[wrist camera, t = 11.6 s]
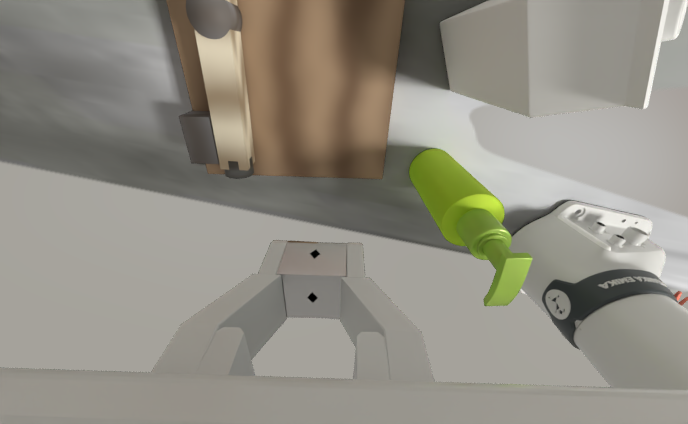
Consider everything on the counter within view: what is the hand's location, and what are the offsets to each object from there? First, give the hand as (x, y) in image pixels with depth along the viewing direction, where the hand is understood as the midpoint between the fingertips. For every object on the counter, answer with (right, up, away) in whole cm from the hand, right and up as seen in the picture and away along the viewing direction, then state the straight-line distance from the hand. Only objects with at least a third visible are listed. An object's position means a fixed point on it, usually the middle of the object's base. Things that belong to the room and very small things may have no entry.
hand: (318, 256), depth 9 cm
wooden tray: (-5, +16, +21) cm, 27 cm away
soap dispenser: (+13, +7, +27) cm, 31 cm away
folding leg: (-11, +14, +19) cm, 26 cm away
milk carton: (+15, +20, +20) cm, 32 cm away
